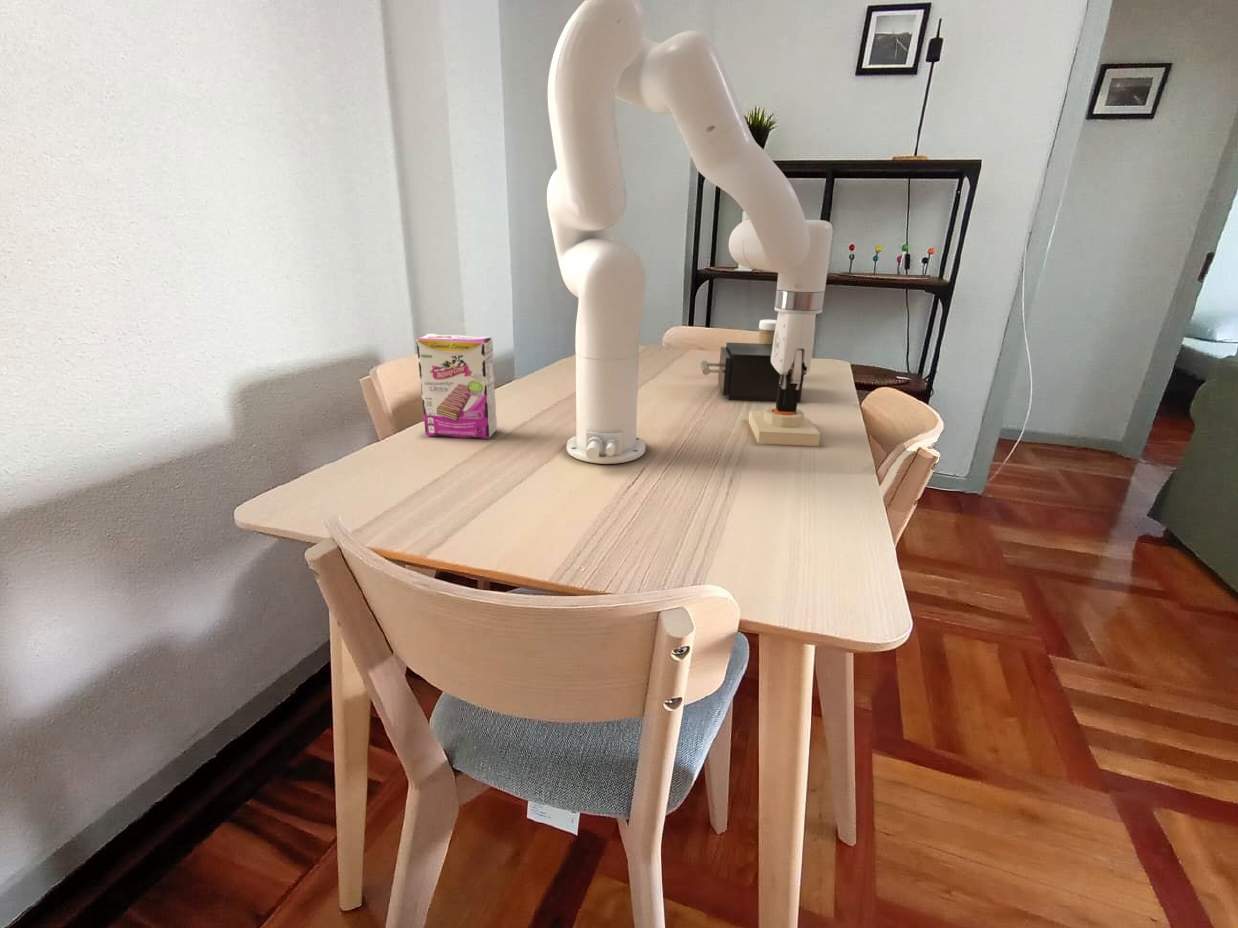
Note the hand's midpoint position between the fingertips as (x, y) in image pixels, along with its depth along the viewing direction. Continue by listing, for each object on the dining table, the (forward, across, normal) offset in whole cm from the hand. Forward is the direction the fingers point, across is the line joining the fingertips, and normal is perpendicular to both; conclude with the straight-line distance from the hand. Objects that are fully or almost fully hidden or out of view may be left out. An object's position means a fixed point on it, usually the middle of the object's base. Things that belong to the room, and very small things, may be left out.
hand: (785, 410), depth 106 cm
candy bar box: (+4, +7, -55) cm, 56 cm away
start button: (+2, 0, 0) cm, 2 cm away
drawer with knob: (+3, -26, -4) cm, 26 cm away
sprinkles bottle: (+5, -40, +3) cm, 40 cm away
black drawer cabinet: (+4, -26, 0) cm, 26 cm away
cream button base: (+4, 0, 0) cm, 4 cm away
